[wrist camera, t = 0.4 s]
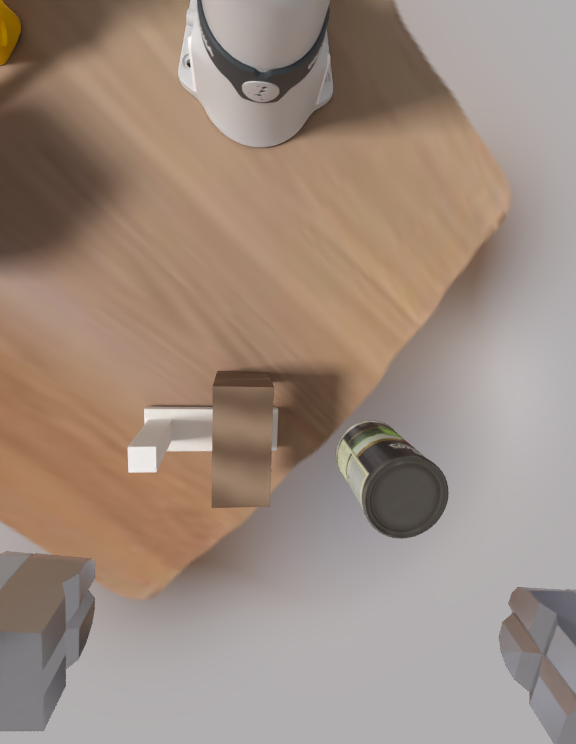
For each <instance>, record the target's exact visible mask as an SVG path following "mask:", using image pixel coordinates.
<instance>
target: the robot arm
mask: <svg viewBox="0 0 576 744" xmlns="http://www.w3.org/2000/svg"><path fill="white" fill-rule="evenodd" d="M329 3H330V0H191V1H190V6H189V8H188V10H187V23H186V29H185V34H184V40H183V46H182V51H181V57H180V62H179V68H178V76H179V81H180V83H181V84H182V86H183V87H184V88H185V89H186V90H187V91H188V92H190V93H191V94H192V95H193V96H195V97H196V98H197V99H198V100H199V101H200V103H201V104H202V106H203V107H204V109H205V111H206V113H207V114H208V116H209V118H210V119H211V121H212V122H213V123H214V124H215V126H216V127H217V128H218V129H219V130H220V131H221V132H222V133H224V134H225V135H226V136H228V137H229V138H231V139H232V140H234V141H236V142H238V143H241V144H243V145H247V146H251V147H270V146H275V145H278V144H280V143H283V142H285V141H286V140H288V139H290V138H291V137H292V136H294V135H295V134H296V133H297V132H298V131H299V130H300V129H301V128H302V126H303V125H304V123H305V122H306V121H307V119H308V118H309V116H310V115H311V114H312V113H313V112H314V111H315V110H317V109H318V108H320V107H322V106H323V105H325V104H326V103H327V102H328V101H329V100H330V99H331V97H332V94H333V80H332V71H331V63H330V54H329V45H328V37H327V26H328V19H329ZM188 63H190V65H191V67H188V66H187V64H188ZM94 579H95V562H94V561H93V560H92V559H91V558H81V557H70V556H59V555H48V554H37V553H36V554H31V553H20V552H9V551H6V552H4V553H2V554H0V731H44V729H45V727H46V725H47V723H48V721H49V719H50V717H51V715H52V713H53V711H54V709H55V707H56V705H57V703H58V701H59V698H60V697H61V695H62V692H63V691H64V688H65V686H66V669H67V668H68V667H69V666H71V665H72V664H73V663H74V662H76V661H77V660H78V659H79V657H80V655H81V653H82V651H83V649H84V647H85V645H86V642H87V639H88V636H89V632H90V629H91V626H92V622H93V616H94V609H95V607H94V606H95V598H94V596H93V595H92V594H91V593H90V591H89V588H90V586H91V584H92V582H93V581H94ZM508 604H509V606H510V608H511V610H512V614H511V615H510V616H509V617H508V618H506V619H505V620H504V621H503V622H502V626H501V630H500V634H499V641H500V649H501V654H502V657H503V659H504V662H505V665H506V667H507V668H508V670H509V672H510V673H511V675H512V677H513V678H514V680H516V681H517V682H518V683H519V684H521V685H522V686H523V687H524V688H525V689H527V690H528V691H529V692H530V693H529V696H530V697H529V700H530V701H529V704H530V706H531V708H532V709H533V711H534V712H535V714H536V715H537V717H538V719H539V720H540V722H541V724H542V725H543V727H544V728H545V730H546V732H547V733H548V735H549V736H550V738H551V740H552V741H553V743H554V744H576V590H569V589H566V590H559V589H558V590H557V589H542V588H525V587H517V588H516V589H515V590H514V591H513V592H512V594H511V597H510V600H509V603H508Z"/></svg>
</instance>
